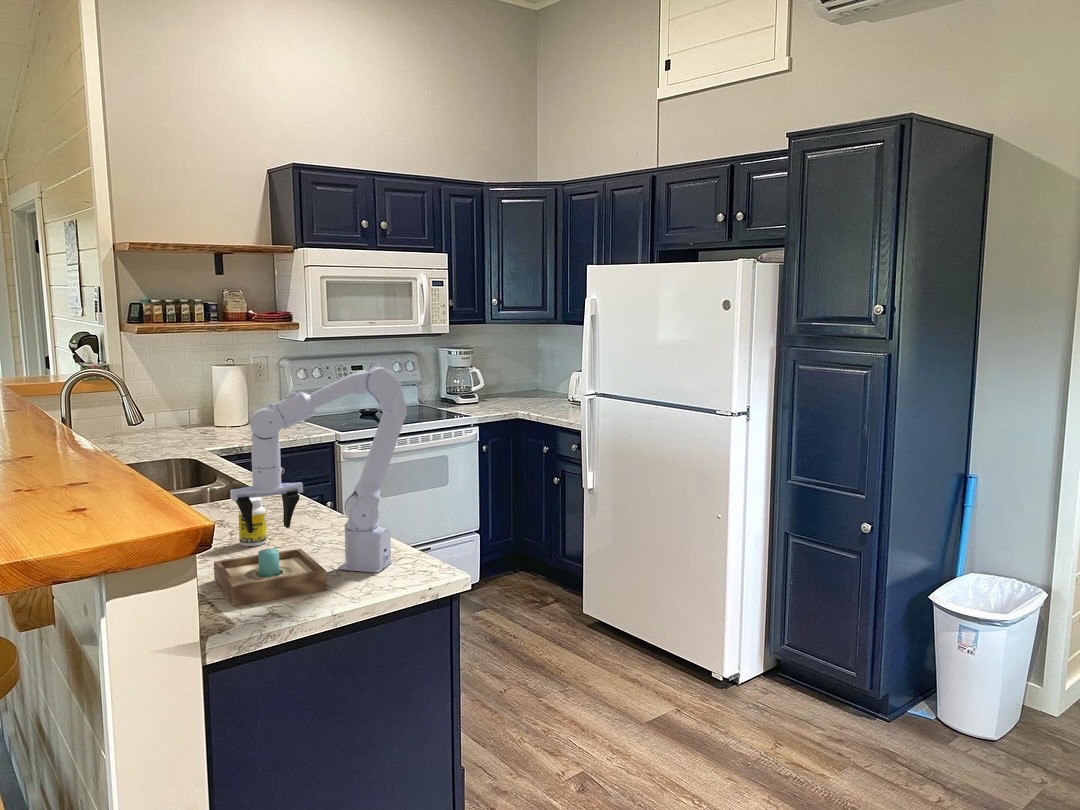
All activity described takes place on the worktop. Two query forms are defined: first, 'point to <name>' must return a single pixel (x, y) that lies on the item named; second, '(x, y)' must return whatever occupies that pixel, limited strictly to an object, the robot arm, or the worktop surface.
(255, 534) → the pill bottle
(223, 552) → the worktop surface
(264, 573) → the peg
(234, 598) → the walnut box
